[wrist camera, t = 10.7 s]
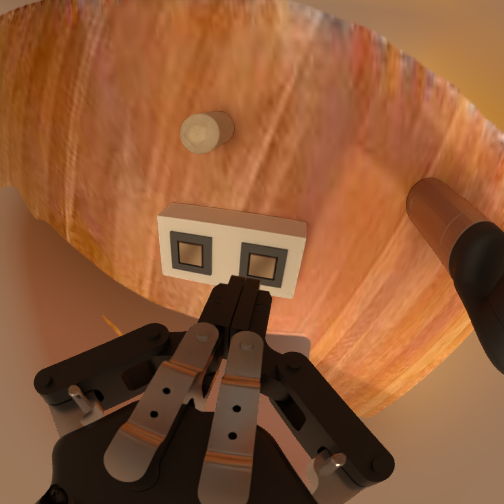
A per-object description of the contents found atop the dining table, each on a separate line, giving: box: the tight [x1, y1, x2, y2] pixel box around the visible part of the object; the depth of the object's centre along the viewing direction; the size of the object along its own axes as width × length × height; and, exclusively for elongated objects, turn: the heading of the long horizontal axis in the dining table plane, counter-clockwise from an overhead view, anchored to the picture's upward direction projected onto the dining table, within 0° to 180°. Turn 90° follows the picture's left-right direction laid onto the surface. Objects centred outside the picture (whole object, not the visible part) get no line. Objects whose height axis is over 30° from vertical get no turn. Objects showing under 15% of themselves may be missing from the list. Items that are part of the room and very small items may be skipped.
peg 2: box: [249, 253, 277, 279], centre depth 47 cm, size 4×4×7 cm
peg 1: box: [179, 241, 203, 266], centre depth 48 cm, size 4×4×7 cm
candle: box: [180, 111, 234, 154], centre depth 36 cm, size 6×6×10 cm
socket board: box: [157, 203, 306, 299], centre depth 47 cm, size 24×12×7 cm, turn 84°
